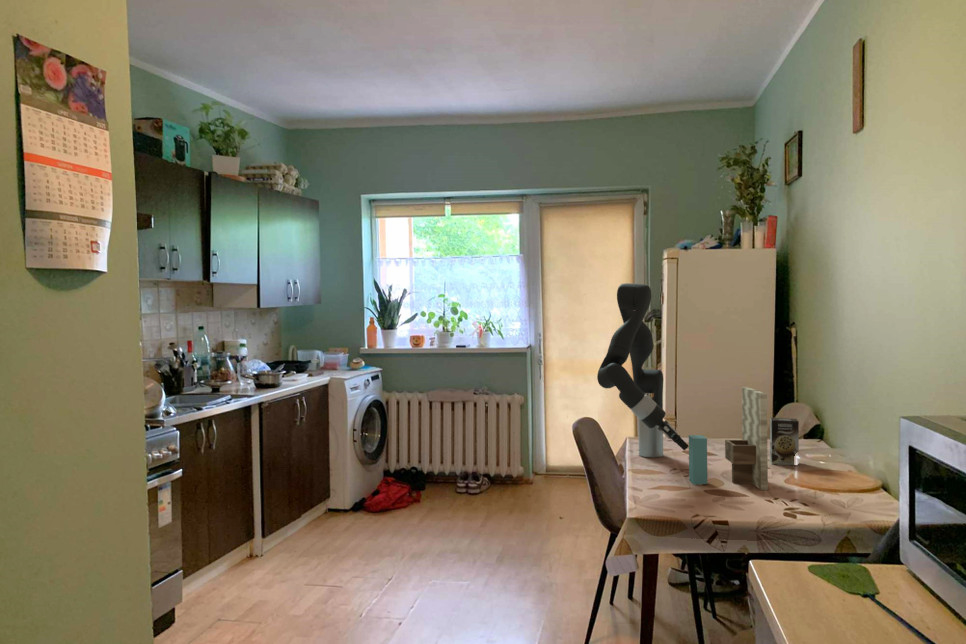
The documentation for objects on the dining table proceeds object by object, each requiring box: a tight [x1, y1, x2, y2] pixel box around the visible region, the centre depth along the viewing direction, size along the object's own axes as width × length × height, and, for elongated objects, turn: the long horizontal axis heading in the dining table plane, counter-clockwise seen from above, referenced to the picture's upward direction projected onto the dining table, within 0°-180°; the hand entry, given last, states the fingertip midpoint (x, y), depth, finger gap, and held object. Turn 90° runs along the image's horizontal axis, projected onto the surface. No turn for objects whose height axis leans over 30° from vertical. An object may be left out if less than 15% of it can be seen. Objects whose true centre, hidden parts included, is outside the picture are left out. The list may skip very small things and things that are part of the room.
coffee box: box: [769, 417, 800, 467], centre depth 242 cm, size 9×6×16 cm
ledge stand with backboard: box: [724, 386, 769, 491], centre depth 217 cm, size 18×9×30 cm, turn 176°
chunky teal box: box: [688, 434, 709, 486], centre depth 218 cm, size 6×4×15 cm
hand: (683, 445), depth 218 cm, fingers open, 8 cm apart
